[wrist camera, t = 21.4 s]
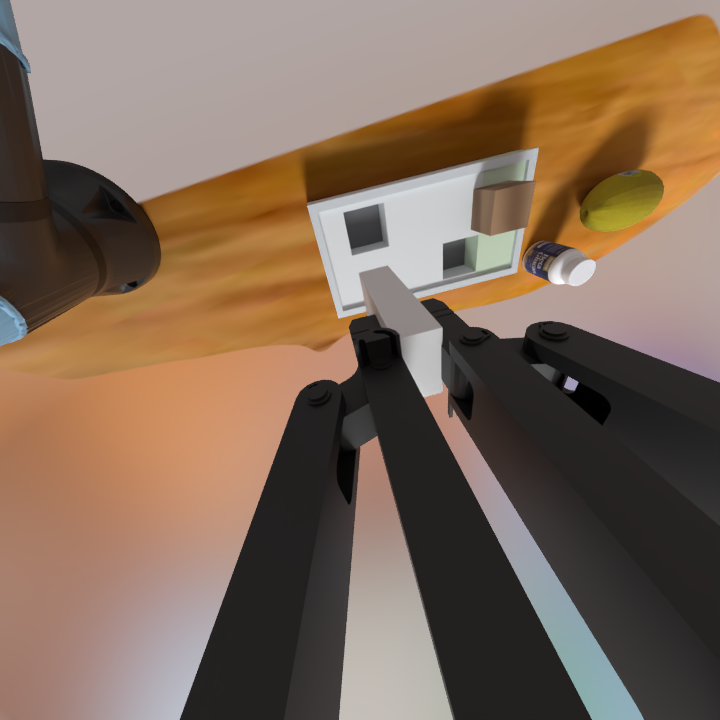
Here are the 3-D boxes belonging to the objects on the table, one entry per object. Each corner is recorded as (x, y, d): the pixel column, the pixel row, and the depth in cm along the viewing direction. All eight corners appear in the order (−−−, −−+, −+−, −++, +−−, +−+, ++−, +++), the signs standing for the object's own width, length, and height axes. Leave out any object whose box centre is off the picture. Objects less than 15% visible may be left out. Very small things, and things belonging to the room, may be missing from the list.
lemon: (636, 168, 40) (700, 166, 33) (610, 224, 44) (661, 232, 38) (573, 172, 39) (626, 172, 32) (553, 229, 43) (596, 239, 37)
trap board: (336, 306, 45) (338, 318, 41) (307, 202, 35) (307, 205, 32) (499, 264, 45) (516, 272, 42) (515, 150, 36) (538, 147, 32)
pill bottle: (522, 246, 44) (568, 261, 36) (552, 235, 44) (605, 248, 36) (519, 275, 47) (561, 295, 39) (548, 265, 47) (595, 283, 39)
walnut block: (470, 229, 37) (490, 236, 33) (473, 189, 34) (495, 190, 30) (503, 221, 37) (527, 227, 33) (509, 180, 34) (535, 180, 30)
